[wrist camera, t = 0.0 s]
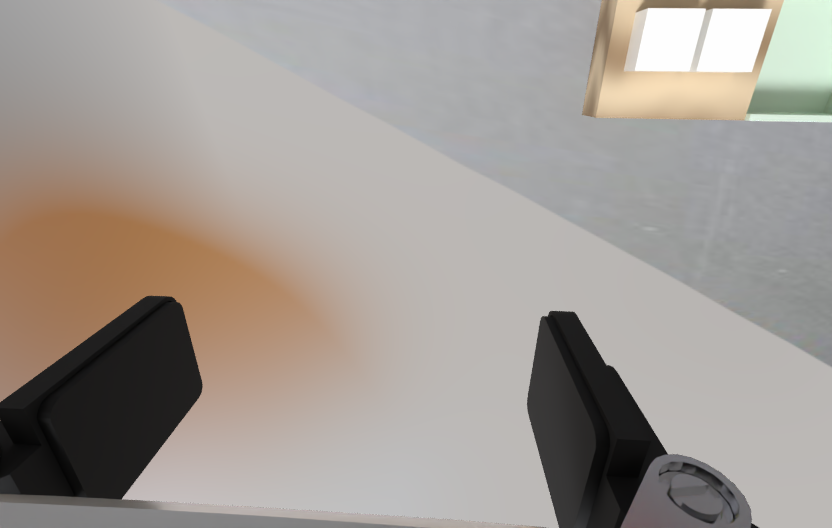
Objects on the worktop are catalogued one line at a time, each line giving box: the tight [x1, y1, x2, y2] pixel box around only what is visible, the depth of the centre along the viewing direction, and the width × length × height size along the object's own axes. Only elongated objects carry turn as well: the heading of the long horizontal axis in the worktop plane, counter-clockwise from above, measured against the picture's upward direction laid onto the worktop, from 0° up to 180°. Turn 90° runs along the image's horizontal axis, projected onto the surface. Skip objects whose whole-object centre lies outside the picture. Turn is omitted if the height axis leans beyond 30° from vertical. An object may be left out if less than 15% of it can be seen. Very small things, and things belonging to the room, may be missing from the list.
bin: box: [745, 0, 832, 122], centre depth 32 cm, size 11×9×4 cm
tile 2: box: [686, 9, 772, 73], centre depth 30 cm, size 4×4×2 cm
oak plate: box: [582, 0, 784, 120], centre depth 33 cm, size 11×12×4 cm
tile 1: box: [624, 8, 706, 72], centre depth 30 cm, size 4×4×2 cm
